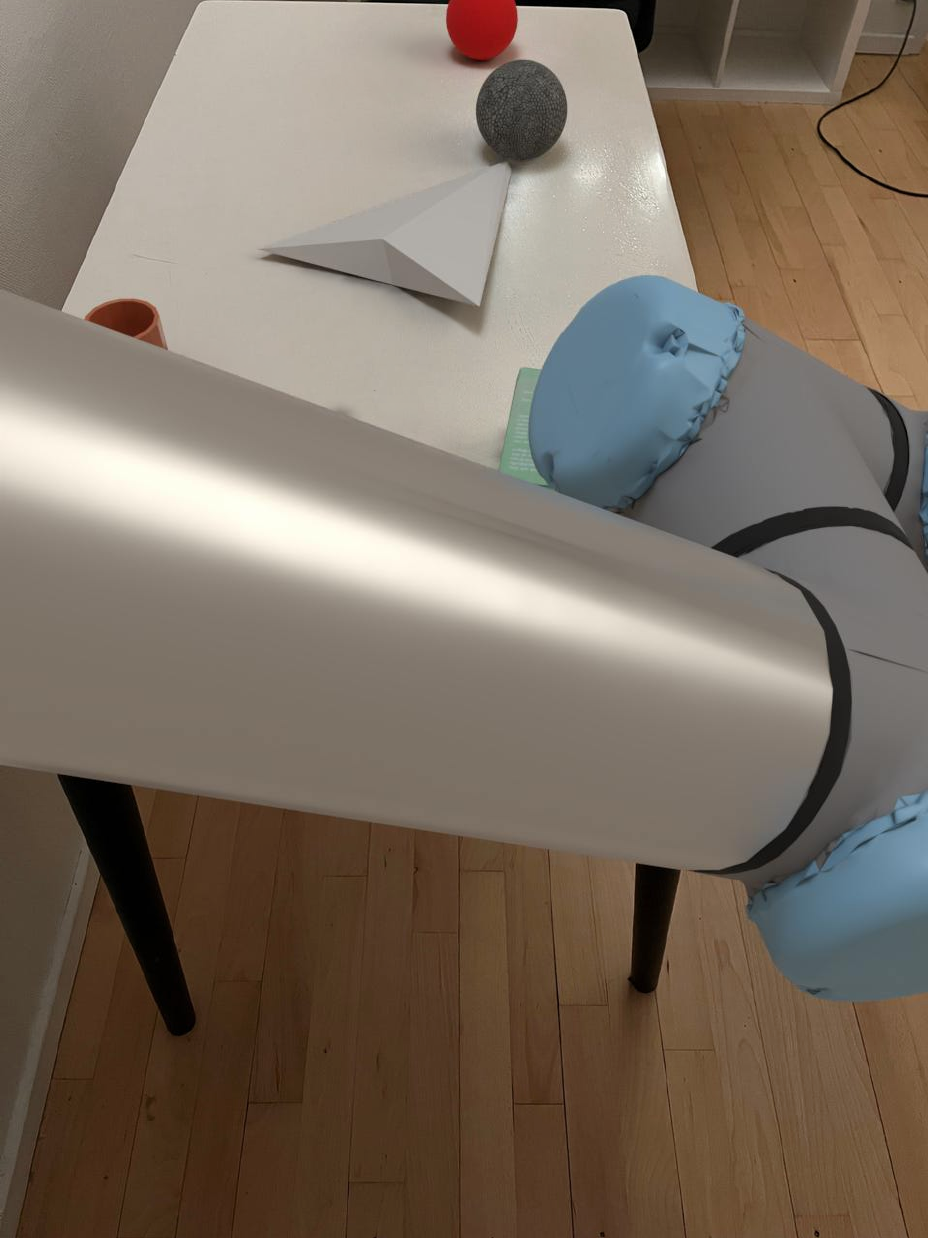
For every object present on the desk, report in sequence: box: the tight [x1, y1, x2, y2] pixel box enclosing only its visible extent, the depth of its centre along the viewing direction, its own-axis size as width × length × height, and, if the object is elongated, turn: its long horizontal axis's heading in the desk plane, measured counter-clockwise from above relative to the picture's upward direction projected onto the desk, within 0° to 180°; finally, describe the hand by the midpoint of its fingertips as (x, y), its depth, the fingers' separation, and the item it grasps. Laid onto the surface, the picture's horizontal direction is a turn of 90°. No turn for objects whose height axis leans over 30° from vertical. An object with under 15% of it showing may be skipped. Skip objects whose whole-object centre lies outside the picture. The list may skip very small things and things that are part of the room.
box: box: [498, 366, 556, 492], centre depth 82 cm, size 7×14×8 cm, turn 171°
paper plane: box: [258, 160, 513, 307], centre depth 108 cm, size 26×28×4 cm
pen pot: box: [83, 298, 169, 350], centre depth 91 cm, size 6×6×6 cm
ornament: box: [445, 0, 519, 61], centre depth 132 cm, size 9×9×10 cm
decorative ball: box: [475, 59, 568, 162], centre depth 116 cm, size 10×10×10 cm
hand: (463, 601), depth 67 cm, fingers open, 13 cm apart
